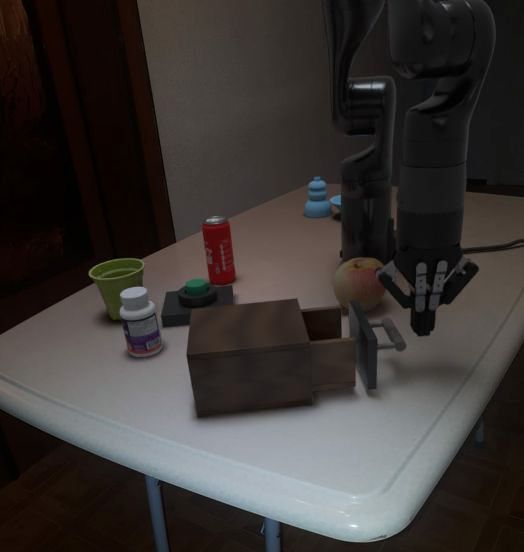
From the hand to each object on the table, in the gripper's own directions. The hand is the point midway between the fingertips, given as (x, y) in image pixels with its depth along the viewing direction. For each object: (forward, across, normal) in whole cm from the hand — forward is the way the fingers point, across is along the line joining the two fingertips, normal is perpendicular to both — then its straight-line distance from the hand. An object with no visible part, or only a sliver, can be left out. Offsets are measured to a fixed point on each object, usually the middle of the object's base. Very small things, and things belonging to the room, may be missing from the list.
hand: (421, 333), depth 73 cm
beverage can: (+5, -27, +38) cm, 47 cm away
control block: (+5, -31, +25) cm, 40 cm away
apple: (+5, -4, +20) cm, 21 cm away
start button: (+1, -31, +25) cm, 40 cm away
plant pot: (+5, -44, +27) cm, 52 cm away
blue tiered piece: (+5, +2, +73) cm, 73 cm away
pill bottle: (+5, -39, +13) cm, 41 cm away
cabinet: (+5, -23, 0) cm, 23 cm away
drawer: (+4, -12, 0) cm, 13 cm away
